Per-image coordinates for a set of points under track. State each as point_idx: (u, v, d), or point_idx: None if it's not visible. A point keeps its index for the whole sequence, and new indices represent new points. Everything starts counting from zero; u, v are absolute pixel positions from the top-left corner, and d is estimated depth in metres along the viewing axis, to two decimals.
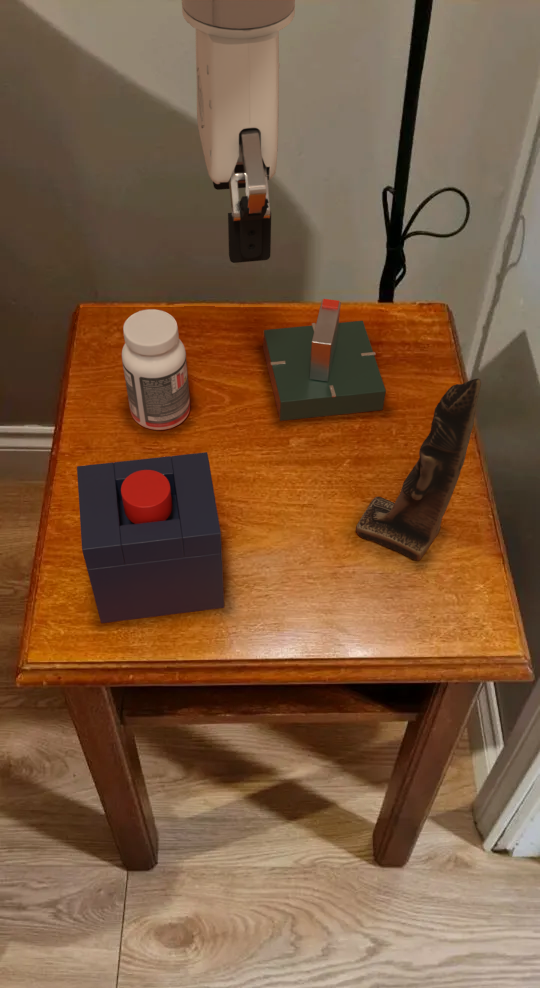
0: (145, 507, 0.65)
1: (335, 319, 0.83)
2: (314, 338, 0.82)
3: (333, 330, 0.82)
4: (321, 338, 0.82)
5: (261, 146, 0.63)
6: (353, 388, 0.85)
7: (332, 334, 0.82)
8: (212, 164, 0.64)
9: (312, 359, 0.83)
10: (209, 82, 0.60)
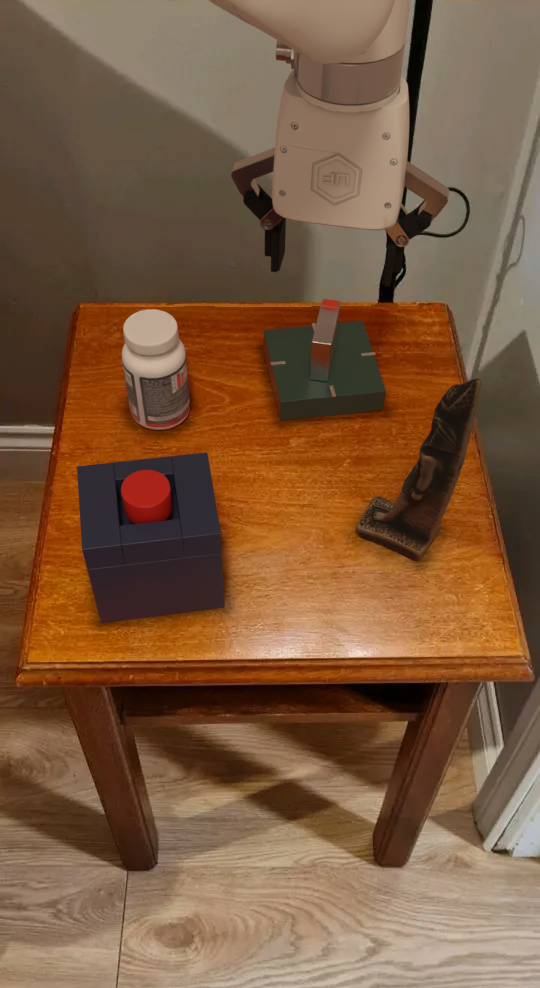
0: (145, 507, 0.65)
1: (335, 319, 0.83)
2: (314, 338, 0.82)
3: (333, 330, 0.82)
4: (321, 338, 0.82)
5: None
6: (353, 388, 0.85)
7: (332, 334, 0.82)
8: (392, 212, 0.70)
9: (312, 359, 0.83)
10: (392, 144, 0.66)
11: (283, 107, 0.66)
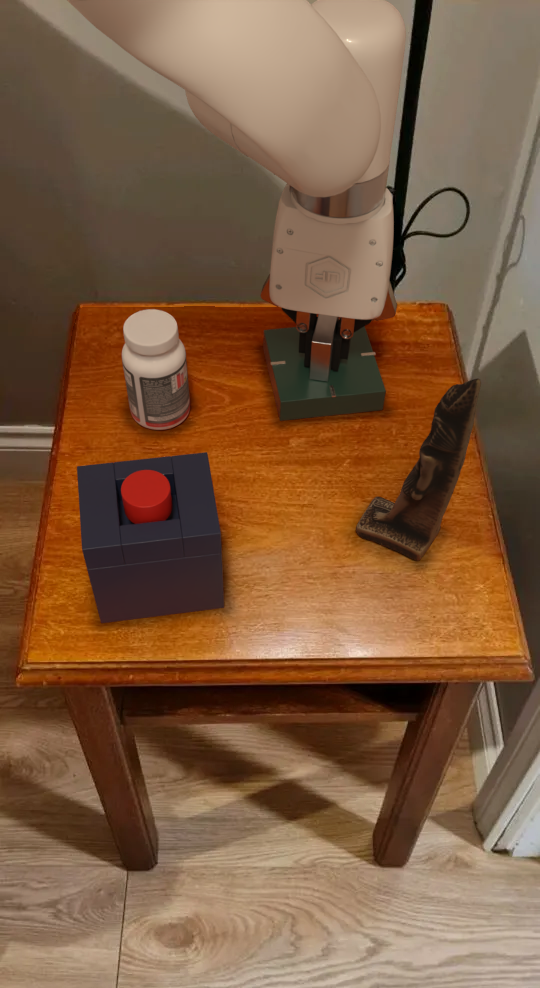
0: (145, 507, 0.65)
1: (335, 319, 0.83)
2: (314, 338, 0.82)
3: (333, 330, 0.82)
4: (321, 338, 0.82)
5: None
6: (353, 388, 0.85)
7: (332, 334, 0.82)
8: (378, 305, 0.77)
9: (312, 359, 0.83)
10: (377, 249, 0.73)
11: (279, 215, 0.73)
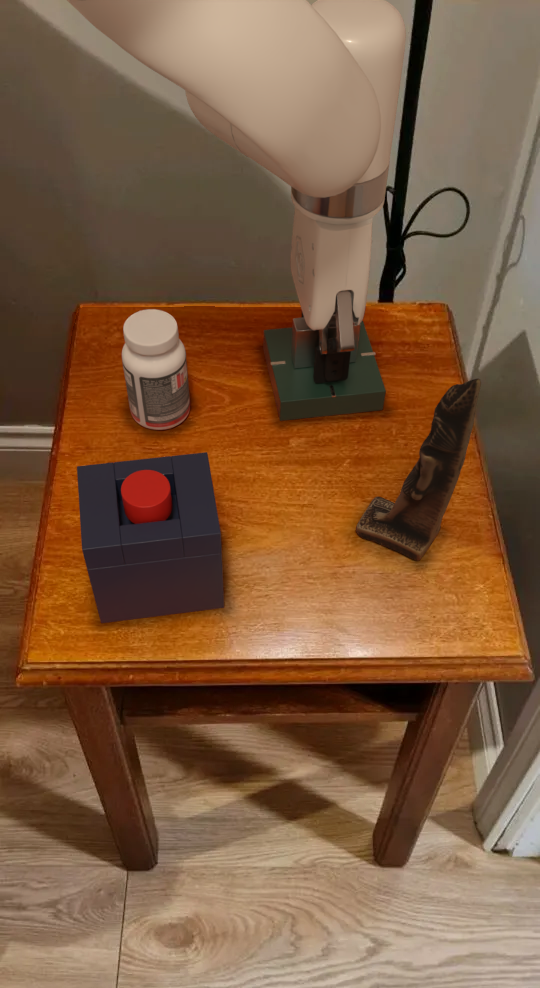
0: (145, 507, 0.65)
1: None
2: (298, 318, 0.83)
3: None
4: (300, 322, 0.83)
5: (353, 302, 0.75)
6: (353, 388, 0.85)
7: (310, 328, 0.82)
8: (311, 316, 0.76)
9: (292, 336, 0.85)
10: (314, 256, 0.72)
11: None
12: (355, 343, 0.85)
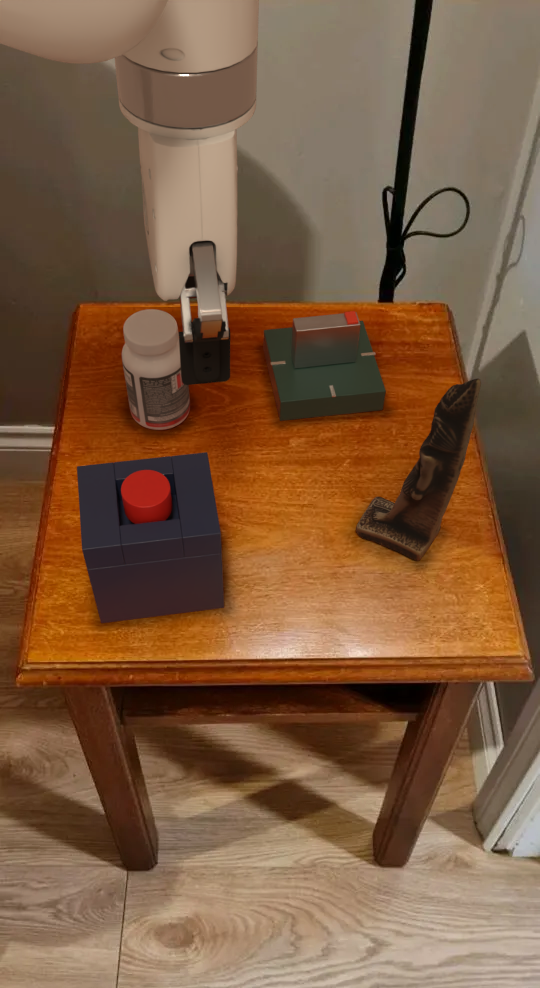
0: (145, 507, 0.65)
1: (332, 326, 0.83)
2: (298, 318, 0.83)
3: (316, 328, 0.82)
4: (300, 322, 0.83)
5: (217, 260, 0.53)
6: (353, 388, 0.85)
7: (310, 328, 0.82)
8: (158, 279, 0.53)
9: (292, 336, 0.85)
10: (152, 188, 0.49)
11: None
12: (355, 343, 0.85)
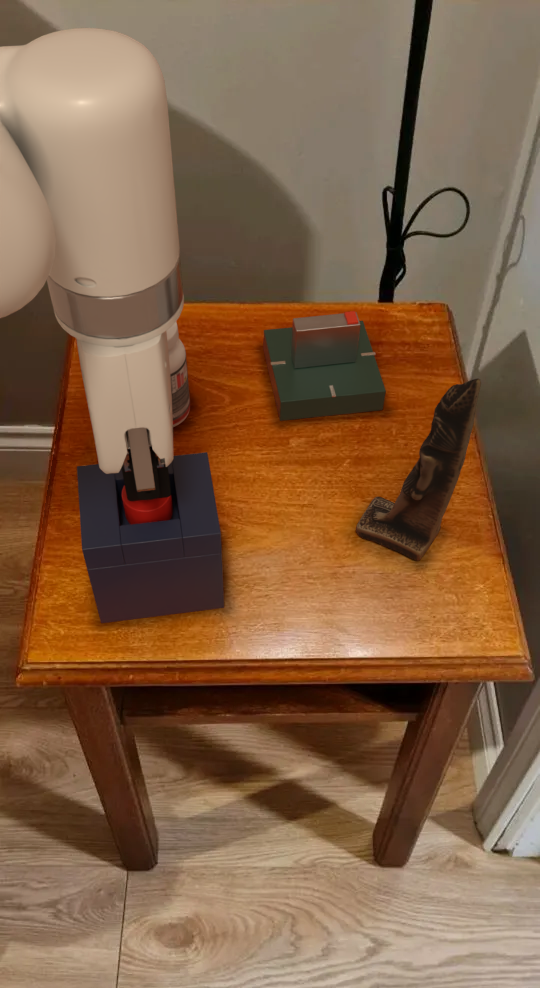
0: (145, 511, 0.66)
1: (332, 326, 0.83)
2: (298, 318, 0.83)
3: (316, 328, 0.82)
4: (300, 322, 0.83)
5: (152, 442, 0.55)
6: (353, 388, 0.85)
7: (310, 328, 0.82)
8: (98, 457, 0.56)
9: (292, 336, 0.85)
10: (85, 386, 0.52)
11: None
12: (355, 343, 0.85)
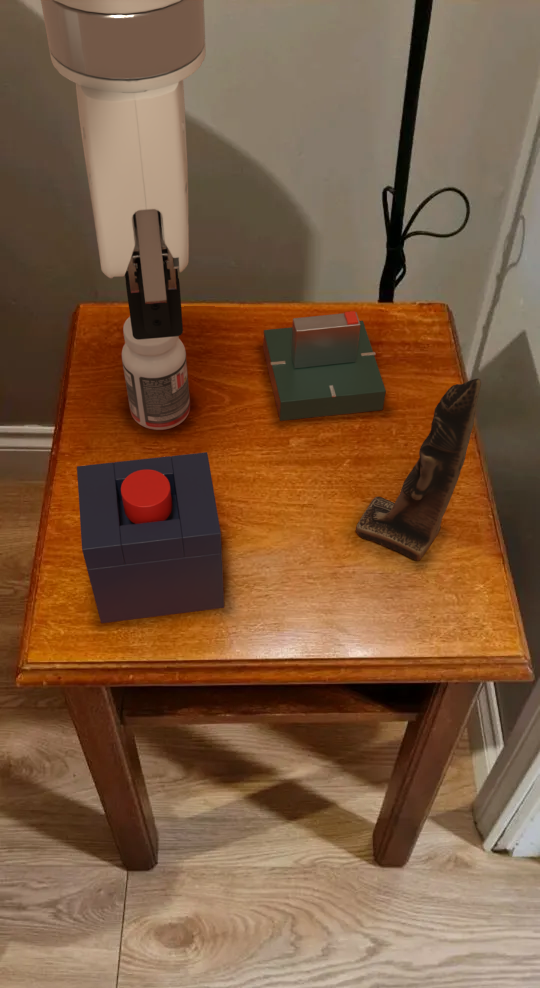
0: (144, 506, 0.65)
1: (332, 326, 0.83)
2: (298, 318, 0.83)
3: (316, 328, 0.82)
4: (300, 322, 0.83)
5: (164, 232, 0.47)
6: (353, 388, 0.85)
7: (310, 328, 0.82)
8: (101, 254, 0.48)
9: (292, 336, 0.85)
10: (87, 150, 0.44)
11: None
12: (355, 343, 0.85)
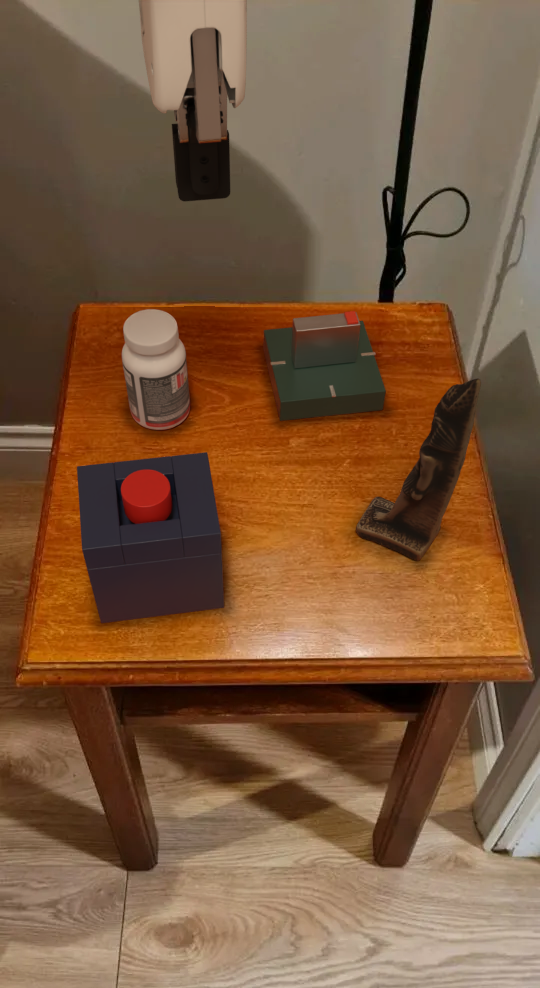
0: (144, 506, 0.65)
1: (332, 326, 0.83)
2: (298, 318, 0.83)
3: (316, 328, 0.82)
4: (300, 322, 0.83)
5: (222, 56, 0.45)
6: (353, 388, 0.85)
7: (310, 328, 0.82)
8: (155, 83, 0.46)
9: (292, 336, 0.85)
10: None
11: None
12: (355, 343, 0.85)
